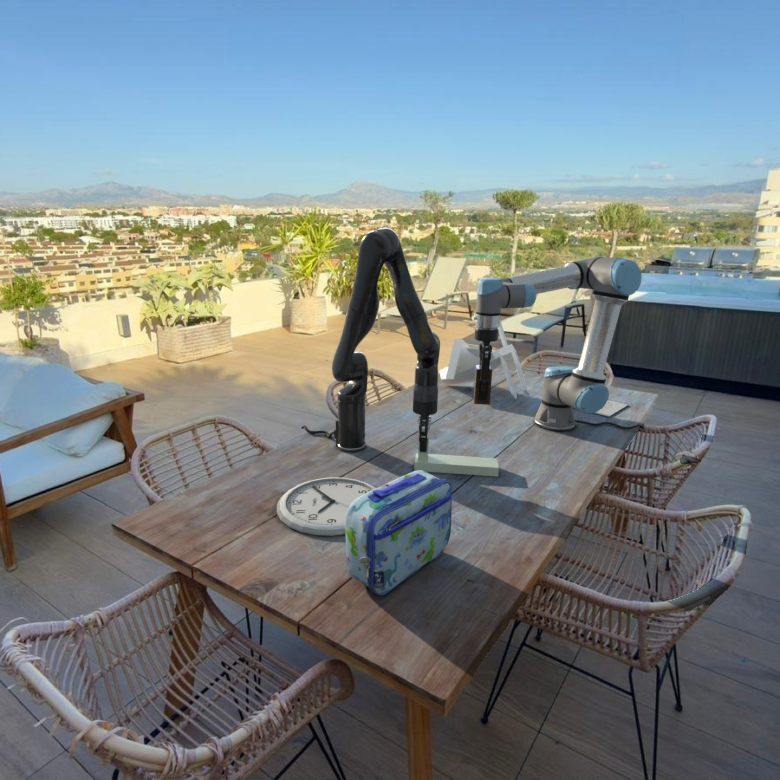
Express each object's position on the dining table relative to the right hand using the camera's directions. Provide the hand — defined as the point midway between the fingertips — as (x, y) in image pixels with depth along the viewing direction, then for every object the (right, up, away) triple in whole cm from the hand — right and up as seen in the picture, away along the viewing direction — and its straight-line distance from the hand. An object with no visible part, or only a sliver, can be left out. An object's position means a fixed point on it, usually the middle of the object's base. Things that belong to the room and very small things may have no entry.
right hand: (482, 397), depth 173 cm
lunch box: (-28, -38, -56) cm, 73 cm away
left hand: (-20, -16, -8) cm, 27 cm away
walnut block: (0, -2, +1) cm, 2 cm away
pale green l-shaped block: (-10, -23, -7) cm, 26 cm away
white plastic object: (+11, +1, +70) cm, 71 cm away
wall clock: (-46, -29, -30) cm, 63 cm away
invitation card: (+61, -5, +53) cm, 81 cm away
